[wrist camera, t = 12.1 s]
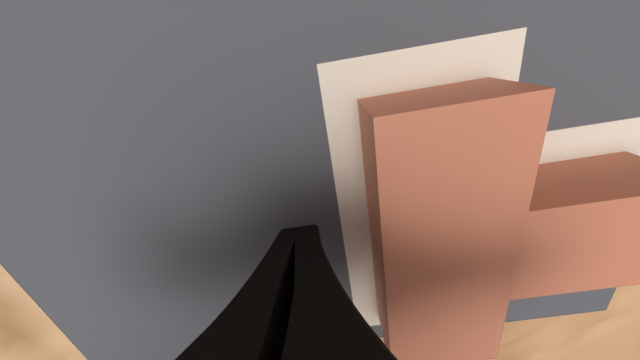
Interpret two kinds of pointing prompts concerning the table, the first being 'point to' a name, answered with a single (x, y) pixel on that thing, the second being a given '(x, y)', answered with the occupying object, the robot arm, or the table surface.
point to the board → (253, 140)
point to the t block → (484, 214)
